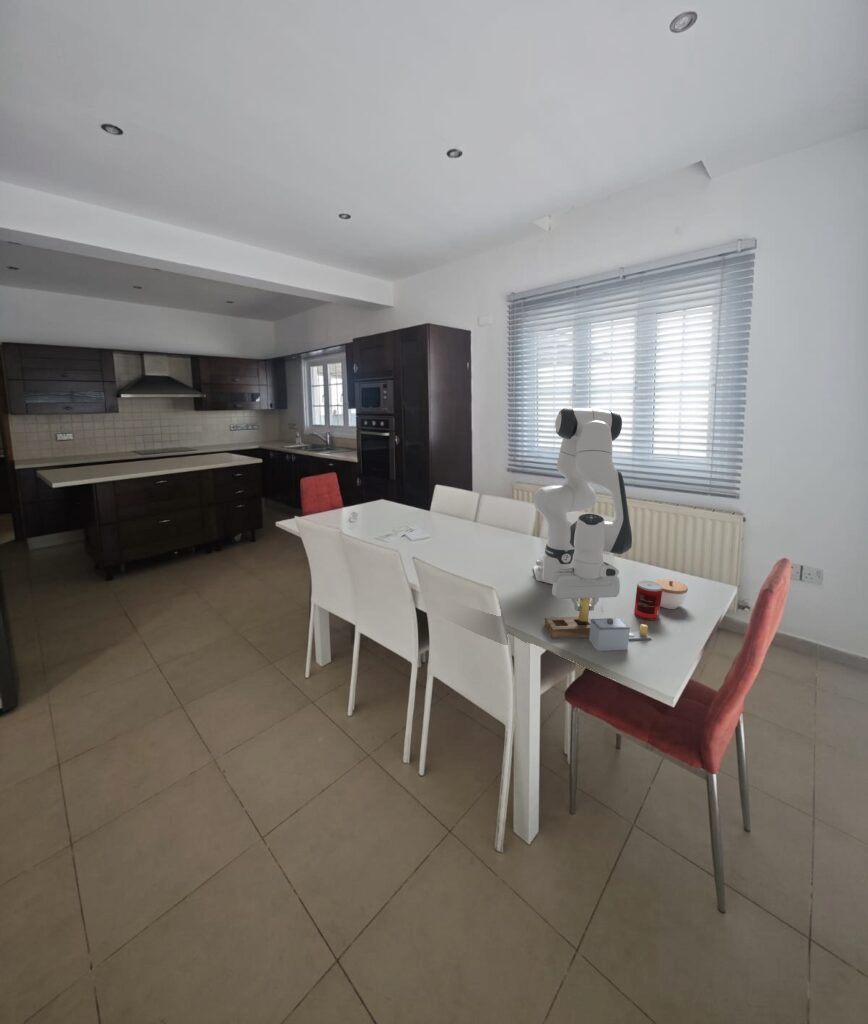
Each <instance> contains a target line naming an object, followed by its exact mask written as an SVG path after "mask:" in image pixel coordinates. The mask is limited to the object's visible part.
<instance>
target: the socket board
mask: <svg viewBox="0 0 868 1024" xmlns="http://www.w3.org/2000/svg"><path fill="white" fill-rule="evenodd" d="M591 619H592V618H590V616H588V621H587V622H582V621H580V620H579V615H578V616H557V617H556V616H552V617H551V616H548V617H544V624H543V625H544V628H545V630H546V631H547V633H548V634H549V635H550V637H551V638H552V639H553V640H554V639H571V638H575V639H576V638H589V635H590V623H591Z"/></svg>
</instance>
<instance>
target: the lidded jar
mask: <svg viewBox="0 0 868 1024" xmlns="http://www.w3.org/2000/svg"><path fill="white" fill-rule="evenodd" d="M654 582H656V583H658V584H660V585H662V597H661V604H660V608H661V607H662V608H664V609H668V610H676V609H678V608H679V607H680V606H682V605H683V604H684V603H685V601H686V598H687V594H688V589H689V588H688V586H687V585H686V584H685V583H683V582H680V581H676V580H672V579H656V580H655V581H654Z"/></svg>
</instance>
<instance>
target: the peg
mask: <svg viewBox="0 0 868 1024" xmlns="http://www.w3.org/2000/svg"><path fill="white" fill-rule="evenodd" d="M590 602H591V598H579V605H580V606H581V611H578V616H579V620H580V621H582V622H587V621H588V617H589V613H590V611H589V604H590Z"/></svg>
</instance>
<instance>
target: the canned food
mask: <svg viewBox="0 0 868 1024" xmlns="http://www.w3.org/2000/svg"><path fill="white" fill-rule="evenodd" d="M661 597H662V585H660V584H658V583H656V582H655V581H652V580H640V581H638V582H637V584H636V592H635V601H634V610H633V611H634V615H635V616H636V617H638V618H639V619H641V620H645V621H646V620H647V621H655V620H656V621H657V619H659V616H660V611H661V606H660V604H661Z"/></svg>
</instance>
